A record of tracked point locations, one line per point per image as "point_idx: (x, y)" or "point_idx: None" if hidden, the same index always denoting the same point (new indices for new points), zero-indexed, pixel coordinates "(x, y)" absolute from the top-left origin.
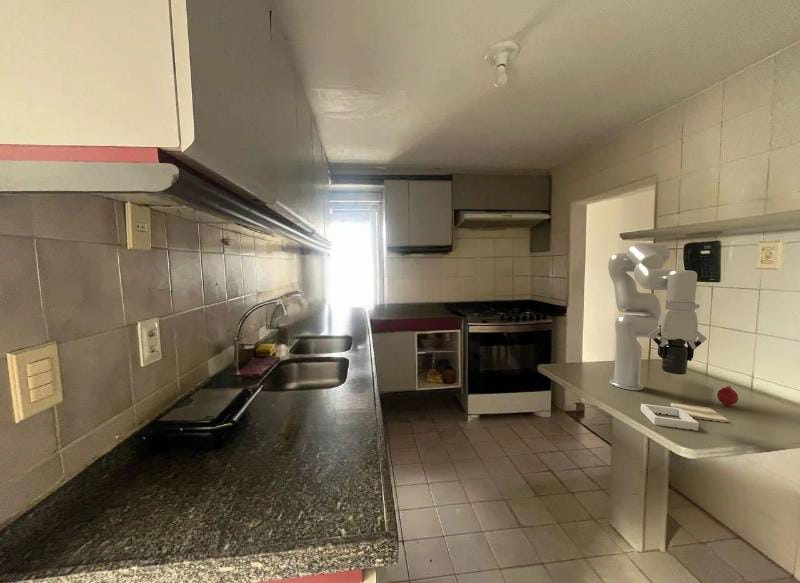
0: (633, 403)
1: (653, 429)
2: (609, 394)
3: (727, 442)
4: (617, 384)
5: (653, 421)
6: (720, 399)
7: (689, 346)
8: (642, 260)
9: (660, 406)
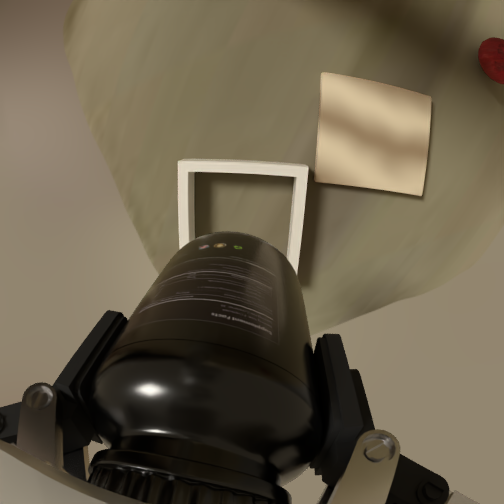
0: (186, 96)
1: None
2: (136, 39)
3: (324, 320)
4: None
5: None
6: (480, 60)
7: (332, 477)
8: None
9: (239, 168)
